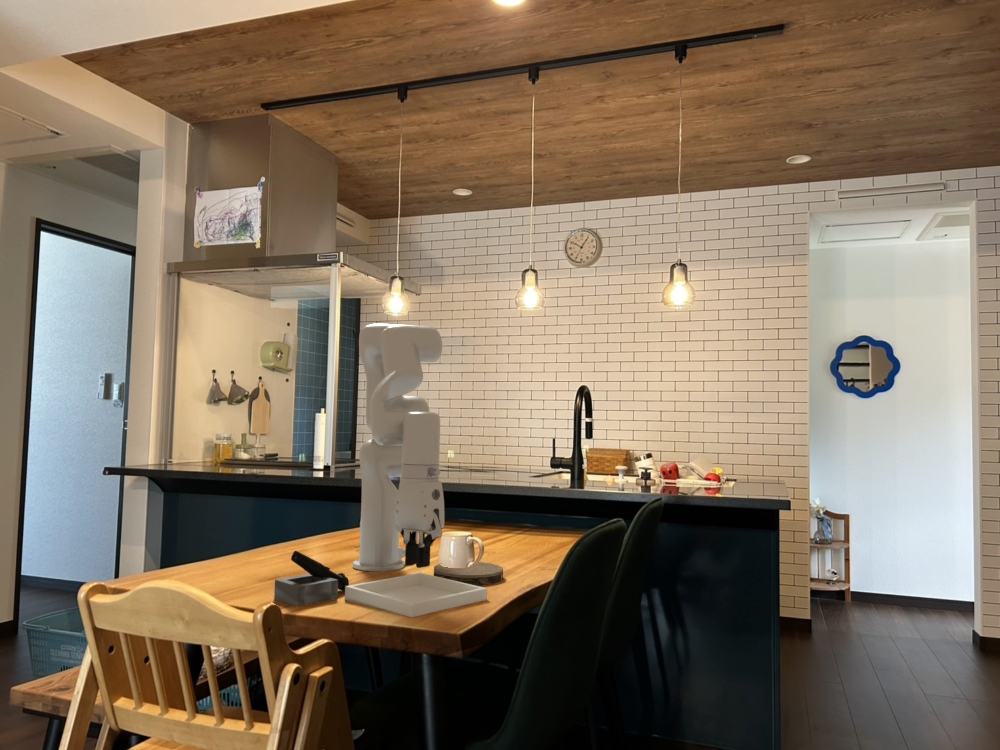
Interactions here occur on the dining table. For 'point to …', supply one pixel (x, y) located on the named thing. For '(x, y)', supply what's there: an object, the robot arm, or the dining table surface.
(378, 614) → the dining table surface
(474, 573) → the wooden log coaster
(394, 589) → the tray
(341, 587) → the electric trimmer
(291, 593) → the socket block
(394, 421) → the robot arm
